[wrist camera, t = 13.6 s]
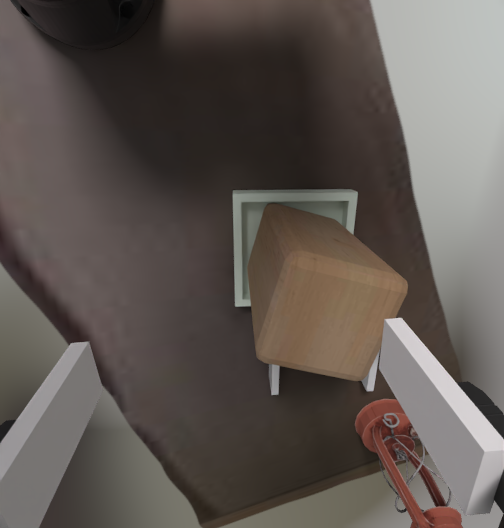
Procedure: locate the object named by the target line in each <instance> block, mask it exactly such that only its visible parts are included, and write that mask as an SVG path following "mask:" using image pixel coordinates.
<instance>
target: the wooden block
mask: <svg viewBox="0 0 504 528" xmlns="http://www.w3.org/2000/svg"><path fill="white" fill-rule="evenodd" d="M247 272H248V281H249V291H250V301H251V310H252V320H253V330H254V339H255V349H256V356H257V357H258V359H259V360H261V361H263V362H264V363H268V364H273V365H278V366H283V367H288V368H293V369H298V370H302V371H307V372H312V373H317V374H322V375H327V376H332V377H337V378H342V379H347V380H352V381H361V380H363V379H364V378H365V377H367V375H368V373H369V371H370V369H371V367H372V364H373V362H374V360H375V358H376V356H377V354H378V352H379V350H380V348H381V345H382V337H383V328H384V320H385V319H393V318H395V317H396V315H397V313H398V311H399V309H400V306H401V304H402V302H403V300H404V298H405V296H406V294H407V289H408V284H407V281H406V280H405V279H404V278H403V277H401V276H400V275H399V274H398V273H397V272H396V271H394V270H393V269H392V268H391V267H390V266H389V265H388V264H386V263H385V262H384V261H383V260H382V259H381V258H379V257H378V256H377V255H376V254H375V253H374V252H372V251H371V250H370V249H369V248H368V247H367V246H366V245H364V244H363V243H362V242H361V241H360V240H359V239H357V238H356V237H355V236H354V235H353V234H352V233H350V232H349V231H348V230H347V229H346V228H345V227H344V226H342V225H341V224H340V223H339V222H338V221H336V220H335V219H332V218H329V217H325V216H321V215H318V214H314V213H310V212H307V211H303V210H299V209H296V208H292V207H288V206H285V205H281V204H277V203H268V204H267V206H266V207H265V208H264V211H263V214H262V218H261V221H260V225H259V228H258V231H257V235H256V238H255V242H254V245H253V248H252V252H251V255H250V259H249V262H248V265H247Z"/></svg>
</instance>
